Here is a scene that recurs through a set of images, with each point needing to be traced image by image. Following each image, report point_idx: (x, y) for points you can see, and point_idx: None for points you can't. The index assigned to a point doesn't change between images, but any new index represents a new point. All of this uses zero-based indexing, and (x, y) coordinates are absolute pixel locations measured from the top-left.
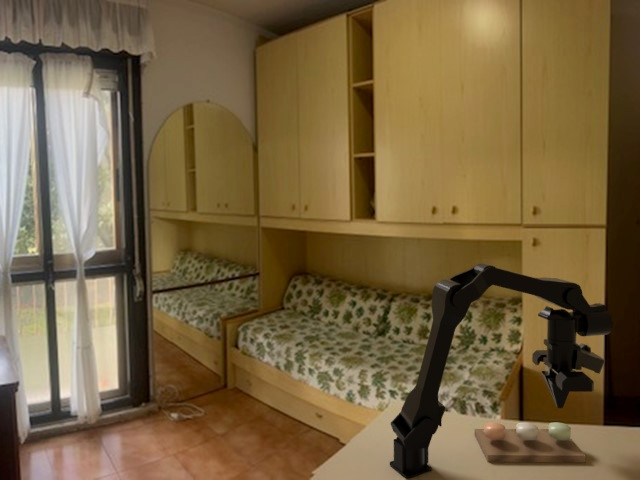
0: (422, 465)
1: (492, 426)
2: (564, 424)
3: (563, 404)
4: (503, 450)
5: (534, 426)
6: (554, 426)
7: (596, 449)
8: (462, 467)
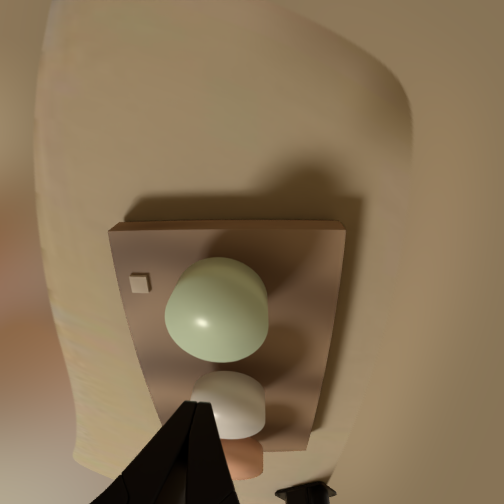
0: (323, 494)
1: (231, 471)
2: (183, 293)
3: (215, 425)
4: (286, 429)
5: (221, 403)
6: (214, 344)
7: (222, 123)
8: (315, 459)
